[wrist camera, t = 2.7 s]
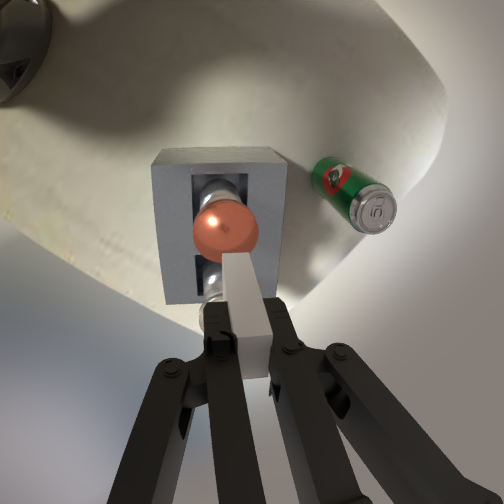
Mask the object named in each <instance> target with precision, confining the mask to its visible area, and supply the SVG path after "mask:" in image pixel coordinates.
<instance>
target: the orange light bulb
mask: <svg viewBox="0 0 504 504" xmlns="http://www.w3.org/2000/svg"><path fill="white" fill-rule="evenodd" d="M258 237H259V228H258V224H257V221H256V219H255V217H254V215H253V213H252V211H251V210H250V209H249V208H248V207H247V206H246V205H245V204H243V203H242V201H241V198H240V196H239V193H238V190H237V188H236V186H235V185H234V184H233V183H232V182H230V181H229V180H226V179H222V178H217V179H213V180H211V181H209V182H207V183H206V184H205V185H204V186H203V188H202V190H201V192H200V211H199V213H198V214H197V216H196V218H195V220H194V224H193V241H194V244H195V246H196V248H197V250H198V251H199V252H200V254H201V255H202V256H204V257H205V258H207V259H208V260H210V261H213V262H216V263H222V253H245V252H249V253H250V252H251V251H252V250H253V249H254V247H255V246H256V243H257V241H258Z"/></svg>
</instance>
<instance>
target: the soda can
mask: <svg viewBox="0 0 504 504" xmlns="http://www.w3.org/2000/svg"><path fill="white" fill-rule="evenodd" d="M312 185H313V187H314V189H315V190H316V191H317V192H318V193H319V194H320V195H321V196H322V197H323V198H324V199H325V200H326V201H327V202H328V203H329V204H330V205H331V206H332V207H333V208H334V209H335V210H336V211H337V212H338V213H339V214H340V215H341V216H342V217H343V218H345V219H346V220H347V221H348V222H349V223H350V224H351V225H352V226H353V228H354V229H356V230H357V231H359V232H362V233H367V234H373V235H374V234H379V233H381V232H383V231H385V230H386V229H387V228H388V227H389V226H390V225H391V224H392V222H393V220H394V218H395V216H396V211H397V205H396V201H395V199H394V197H393V195H392V193H391V191H390V190H389V188H387V187H386V186H385V185H383V184H382V183H380V182H378V181H377V180H375V179H374V178H372V177H370V176H369V175H367V174H365V173H364V172H362V171H360V170H358V169H357V168H355V167H353V166H352V165H350V164H348V163H346V162H345V161H343V160H341V159H339V158H336V157H328V158H325V159H323V160H321V161H320V162H319V163H318V164H317V165H316V166H315V168H314V170H313V172H312Z"/></svg>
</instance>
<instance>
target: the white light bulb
mask: <svg viewBox="0 0 504 504" xmlns="http://www.w3.org/2000/svg"><path fill="white" fill-rule="evenodd" d="M203 288H204V303H203V304H202V305H201V307H200V310H199V324H200V327H201V329H202V331H203V332H204V323H203V308H204V306H205V305H206V303H207V302H220V301H224V299H223V283H222V263H216V262H213V261H210V260H207V261H206V262H205V264H204V266H203Z"/></svg>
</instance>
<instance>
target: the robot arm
mask: <svg viewBox="0 0 504 504" xmlns="http://www.w3.org/2000/svg"><path fill="white" fill-rule="evenodd" d="M51 30H52V19H51V13H50V10H49V7H48V5H47V4H46V2H45V1H44V0H0V103H3V102H5V101H7V100H9V99H11V98H12V97H14V96H15V95H17V94H18V93H19V92H20V91H21V90H22V89H23V88H24V87H25V86H26V85H27V84H28V83H29V82H30V80H31V79H32V78H33V76H34V75H35V73H36V72H37V70H38V69H39V67H40V65H41V63H42V61H43V59H44V57H45V54H46V52H47V49H48V45H49V42H50V37H51ZM222 283H223V299H224V301H220V302H207V303H206V305H205V306H204V308H203V323H204V351H203V353H202V354H201V355H200V356H199V357H198V358H196V359H194V360H191V361H188V362H184V361H183V360H180V359H177V358H168V359H165V360H163V361H161V362H160V363H159V364H158V365H157V367H156V369H155V371H154V374H153V376H152V379H151V381H150V384H149V386H148V389H147V392H146V394H145V397H144V399H143V402H142V405H141V407H140V410H139V413H138V415H137V418H136V421H135V423H134V426H133V429H132V432H131V434H130V437H129V440H128V443H127V445H126V448H125V451H124V454H123V457H122V460H121V462H120V465H119V468H118V471H117V474H116V477H115V480H114V483H113V486H112V489H111V492H110V495H109V498H108V501H107V504H172V502H173V498H174V493H175V489H176V485H177V480H178V476H179V472H180V468H181V464H182V460H183V456H184V452H185V447H186V443H187V439H188V435H189V431H190V427H191V422H192V419H193V415H194V411H195V407H198V406H201V405H204V404H207V403H208V407H209V418H210V429H211V439H212V449H213V458H214V467H215V475H216V484H217V492H218V499H219V504H266V501H265V496H264V491H263V486H262V481H261V477H260V471H259V467H258V461H257V456H256V451H255V446H254V441H253V436H252V430H251V425H250V420H249V414H248V409H247V403H246V398H245V393H244V387H243V381H242V380H243V379H253V378H263V377H268V373H270V377H271V381H270V388H269V396H271V395H272V396H273V400H274V404H275V408H276V412H277V416H278V420H279V424H280V428H281V432H282V436H283V440H284V444H285V448H286V452H287V456H288V460H289V464H290V468H291V472H292V476H293V480H294V483H295V487H296V491H297V495H298V499H299V503H300V504H373V503H372V501H371V500H370V499H369V497H367V496H365V495H363V494H362V493H361V491H360V489H359V486H358V483H357V480H356V478H355V475H354V472H353V469H352V466H351V464H350V461H349V458H348V456H347V453H346V450H345V447H344V445H343V442H342V439H341V437H340V434H339V431H338V429H337V426H338V427H339V429H340V430H341V432H342V433H343V434H344V436H345V437H346V439H347V440H348V441H349V443H350V444H351V445H352V447H353V448H354V450H355V451H356V452H357V454H358V455H359V457H360V458H361V459H362V461H363V462H364V464H365V465H366V466H367V468H368V469H369V470H370V472H371V473H372V475H373V476H374V477H375V479H376V480H377V481H378V483H379V484H380V485H381V487H382V488H383V489H384V491H385V492H386V493H387V495H388V496H389V497H390V499H391V500H392V501H393V503H394V504H503V501H502V499H501V497H500V496H498V495H497V494H496V493H494V492H492V491H490V490H487V489H486V488H484V487H482V486H480V485H478V484H476V483H474V482H472V481H470V480H468V479H467V478H465V477H463V476H462V474H461V473H460V472H459V471H458V470H457V469H456V467H455V466H454V465H453V464H452V463H451V461H450V460H449V459H448V458H447V457H446V455H444V453H443V452H442V451H441V450H440V449H439V447H438V446H437V445H436V444H435V443H434V442H433V440H432V439H431V438H430V437H429V436H428V434H426V432H425V431H424V430H423V429H422V428H421V426H420V425H419V424H418V423H417V422H416V421H415V419H414V418H413V417H412V416H411V415H410V414H409V413H408V411H407V410H406V409H405V408H404V407H403V406H402V404H401V403H400V402H399V401H398V400H397V399H396V398H395V396H394V395H393V394H392V393H391V392H390V391H389V390H388V388H387V387H386V386H385V385H384V384H383V383H382V381H381V380H380V379H379V378H378V377H377V376H376V375H375V374H374V372H373V371H372V370H371V369H370V368H369V367H368V366H367V364H366V363H365V362H364V361H363V360H362V359H361V358H360V357H359V356H358V354H357V353H356V352H355V351H354V350H353V349H352V348H351V347H350V346H349V345H346V344H344V343H333V344H331V345H329V346H328V347H327V348H326V350H321V349H314V348H310V347H307V346H306V345H305V344H304V342H302V341H301V340H299V339H298V337H297V334H296V332H295V329H294V326H293V324H292V321H291V319H290V316H289V313H288V310H287V308H286V305H285V303H284V302H283V301H282V300H281V299H280V298H279V297H274V298H262V295H261V292H260V289H259V285H258V282H257V278H256V275H255V272H254V268H253V265H252V261H251V258H250V255H249V252H245V253H222ZM336 425H337V426H336Z"/></svg>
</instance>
